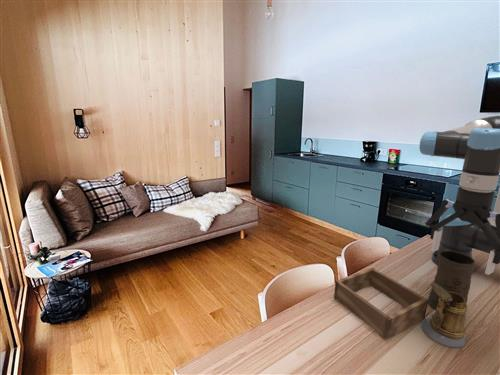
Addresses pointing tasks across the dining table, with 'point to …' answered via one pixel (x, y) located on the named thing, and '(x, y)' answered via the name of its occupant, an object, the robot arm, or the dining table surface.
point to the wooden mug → (449, 313)
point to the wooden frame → (373, 315)
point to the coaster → (441, 336)
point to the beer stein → (452, 275)
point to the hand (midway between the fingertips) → (459, 260)
